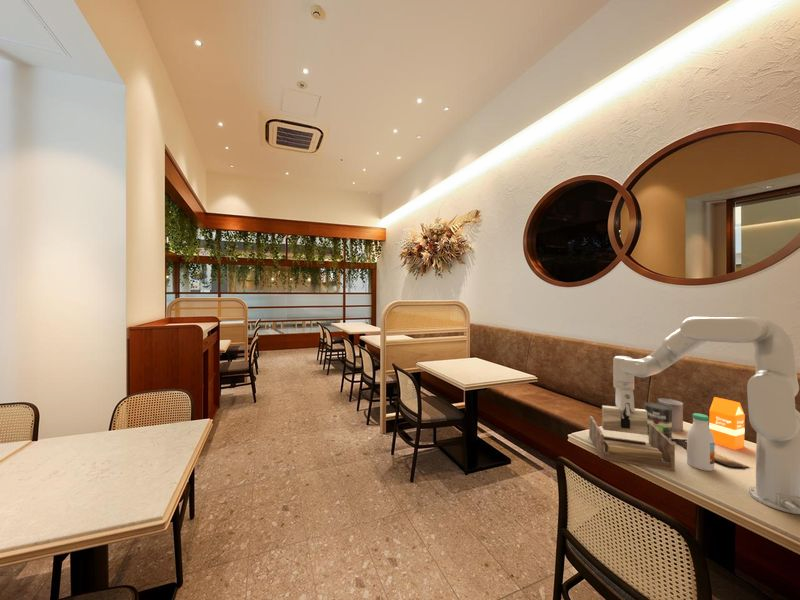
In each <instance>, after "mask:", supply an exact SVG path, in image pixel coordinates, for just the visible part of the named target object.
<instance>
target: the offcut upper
mask: <svg viewBox="0 0 800 600" xmlns="http://www.w3.org/2000/svg"><path fill="white" fill-rule="evenodd" d="M605 447H606V448H607V450H608V451H611V452H618V453H626V454H633V455H640V456H648V457H655V458H662V453H661V452H660V451H659V450H658V449H657V448H652V447H645V446H637V445H629V444H621V443H613V442H606V441H605Z"/></svg>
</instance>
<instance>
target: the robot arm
mask: <svg viewBox="0 0 800 600" xmlns="http://www.w3.org/2000/svg"><path fill="white" fill-rule="evenodd" d="M706 342H709V343H710V342H711V343H730V344H748V343H749V344H750V343H752V345H753V347H754V353H753V354H754V365H755V374H753V375H752V376H750V378H749V379H748V382H747V386H746V392H747V407H748V408H747V409H748V419H749V423H750V426H751V427H752V429H753V430H754V431H755V432H756V441H755V442H756V447H755V448H756V449H755V451H756V452H755V455H756V456H755V486H752V487H749V489H748V494H749V495H750V496H751V498H753V499H754V500H756V501H757V502H759V503H761V504H763V505H765V506H767V507H770V508H772V509H775V510H777V511H782V512H785V513H789V514H794V515H800V411H798V410H797V409H796V399H795V398H796V396H797V395H798V393H799V391H800V385H799V381H798V373H797V363H796V356H795V349H794V344H793V340H792V339H791V337H790V334H788V333H787V331H786V330H785V329H784V328H782V326H780V325H779V324H777V323H775V322H773V321H770V320H768V319H765V318H762V317H759V316H747V315H746V316H740V317H739V316H736V317H735V316H733V317H729V316H727V317H722V316H721V317H718V316H716V317H714V316H712V317H710V316H706V315H698V316H697V315H695V316H689V317H686V319H684V320H683V321H682V322H681V323H680V326H679V328H677V329H676V330H675V331H673V332H672V333H670V334H669V335H667V336H666V337H665V338H664V339H663V340H662V343H661V345H660V347H658V348H657V349H656V350H655V351H653V352H651V353H650V354H648V355H647V356H645V357H641V358H633V357H631V356H627V355H615V356H614V357H613V359H612V361H613V362H612V367H613V369H612V370H613V371H612V372H613V373H612V374H613V375H612V377H613V380H612V382H613V388H614V389H615V395H614V397H615V398H614V399H615V407H618V408H619V410H620V411H621V412H622V418H621V427H622V428H628V429H630V411H631V412H632V413H635V395H634V390H635V377H637V378H648V377H651V376H654V375H658V374H659V373H662V372H663V371H664V370H665V369H667V368H669V367H670V366H672V365H673V364H675V363H676V362H678V361H679V360H680V359H683V358H684V357H685V356H686V355H688V354H689V353H691V352H693V350H696V348H698V347H700V346H702V345H704V344H705V343H706ZM624 410H626V412H625V411H624ZM624 413H626V414H624Z"/></svg>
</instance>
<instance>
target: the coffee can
mask: <svg viewBox="0 0 800 600" xmlns="http://www.w3.org/2000/svg"><path fill="white" fill-rule="evenodd" d="M644 409H645V410H646V411H647V434H648V435H647V436H649V423H652V424H653V425H654V426H655V427H656V428H658V429H659V430H660V431H661V432H662V433H663V434H664V435H665V436H666V437H667V438H668V439H669V440H671V439H673V436H672V435H673V434H672V433H673V431H672V410H673V409H672V407H670V406H667V405H664V404H660V403H658V402H645V403H644Z"/></svg>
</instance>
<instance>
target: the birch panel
mask: <svg viewBox="0 0 800 600" xmlns="http://www.w3.org/2000/svg"><path fill="white" fill-rule="evenodd" d="M624 411H625V412H626V410H624ZM624 414H626V413H624ZM621 418H622V412H621V411H620V410H619V408H618V407H617V406H616V405H614V406H612V405H606V404H605V405H603V404H602V405H601V428H602V429H603V430H604V431H610V432H620V433H625V434H626V433H627V434H636V435H642V436H643V435H644V436H649V435H648V434H647V411H646V410H645V408H643V409H642V408H635V413H632V412H631V411H630V429H628V428H622V427H621Z"/></svg>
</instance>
